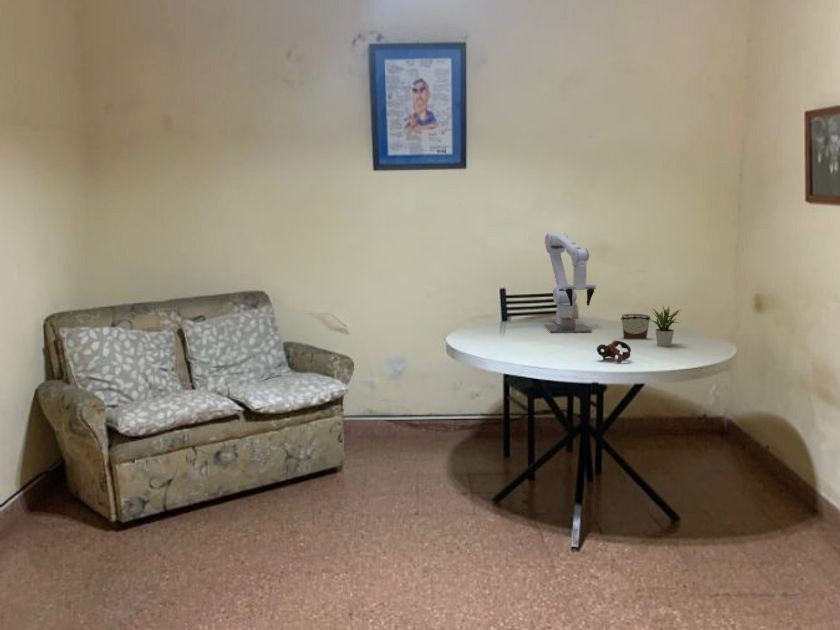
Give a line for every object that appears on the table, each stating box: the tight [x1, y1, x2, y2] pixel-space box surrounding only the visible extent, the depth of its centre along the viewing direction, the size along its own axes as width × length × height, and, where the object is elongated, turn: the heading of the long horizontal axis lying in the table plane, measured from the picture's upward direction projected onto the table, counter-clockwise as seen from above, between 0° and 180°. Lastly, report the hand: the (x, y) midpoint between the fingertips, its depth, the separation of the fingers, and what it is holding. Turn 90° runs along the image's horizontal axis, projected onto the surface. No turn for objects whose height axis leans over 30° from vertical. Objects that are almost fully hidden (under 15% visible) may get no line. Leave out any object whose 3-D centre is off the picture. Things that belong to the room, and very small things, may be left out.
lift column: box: [563, 308, 573, 319], centre depth 336 cm, size 3×3×8 cm
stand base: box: [543, 317, 592, 334], centre depth 337 cm, size 18×18×6 cm
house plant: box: [649, 304, 683, 347], centre depth 296 cm, size 14×14×16 cm
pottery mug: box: [596, 340, 632, 364], centre depth 271 cm, size 12×10×8 cm
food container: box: [620, 313, 652, 340], centre depth 314 cm, size 12×6×10 cm, turn 84°
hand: (579, 305), depth 339 cm, fingers open, 7 cm apart
